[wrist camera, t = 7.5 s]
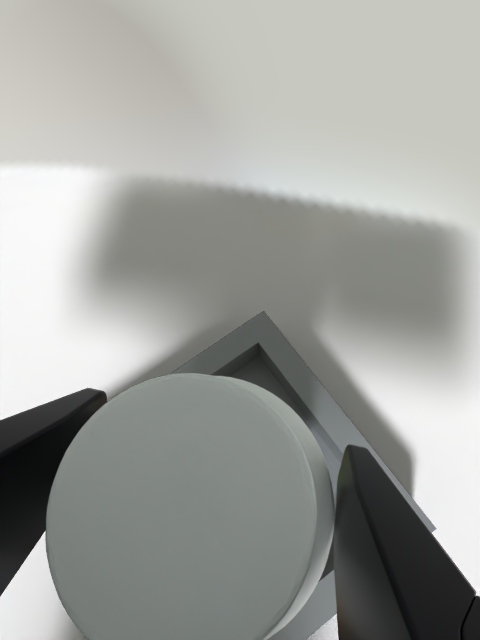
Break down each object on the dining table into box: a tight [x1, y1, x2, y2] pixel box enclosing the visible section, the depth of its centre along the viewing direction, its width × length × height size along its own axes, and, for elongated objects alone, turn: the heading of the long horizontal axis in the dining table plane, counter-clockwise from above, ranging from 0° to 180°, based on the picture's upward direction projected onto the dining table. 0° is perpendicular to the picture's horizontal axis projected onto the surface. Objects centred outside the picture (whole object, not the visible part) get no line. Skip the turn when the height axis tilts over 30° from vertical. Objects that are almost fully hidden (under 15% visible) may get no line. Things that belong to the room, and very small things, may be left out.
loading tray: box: [169, 311, 436, 640], centre depth 16 cm, size 10×10×2 cm
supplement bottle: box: [46, 373, 334, 640], centre depth 10 cm, size 5×5×10 cm
